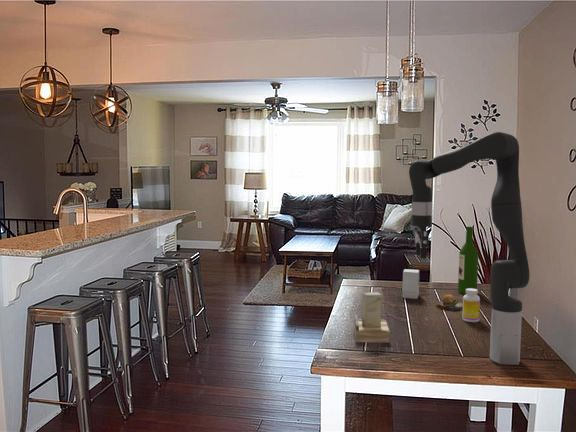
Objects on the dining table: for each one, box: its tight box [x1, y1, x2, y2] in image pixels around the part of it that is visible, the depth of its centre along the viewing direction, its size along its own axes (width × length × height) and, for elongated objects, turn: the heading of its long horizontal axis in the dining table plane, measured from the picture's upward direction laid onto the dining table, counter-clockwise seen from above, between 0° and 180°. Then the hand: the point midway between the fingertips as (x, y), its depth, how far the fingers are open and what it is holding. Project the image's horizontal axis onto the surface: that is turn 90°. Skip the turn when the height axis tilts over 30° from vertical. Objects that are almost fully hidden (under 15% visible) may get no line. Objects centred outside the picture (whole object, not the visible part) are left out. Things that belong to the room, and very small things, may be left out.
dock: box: [353, 314, 391, 344], centre depth 204 cm, size 14×12×6 cm
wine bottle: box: [457, 226, 479, 295], centre depth 268 cm, size 9×9×32 cm
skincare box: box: [361, 291, 383, 327], centre depth 204 cm, size 6×4×12 cm
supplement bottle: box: [461, 288, 481, 323], centre depth 223 cm, size 7×7×13 cm
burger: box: [436, 292, 463, 312], centre depth 244 cm, size 12×12×8 cm
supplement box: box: [401, 268, 420, 300], centre depth 262 cm, size 7×7×13 cm
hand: (420, 256), depth 208 cm, fingers open, 8 cm apart
